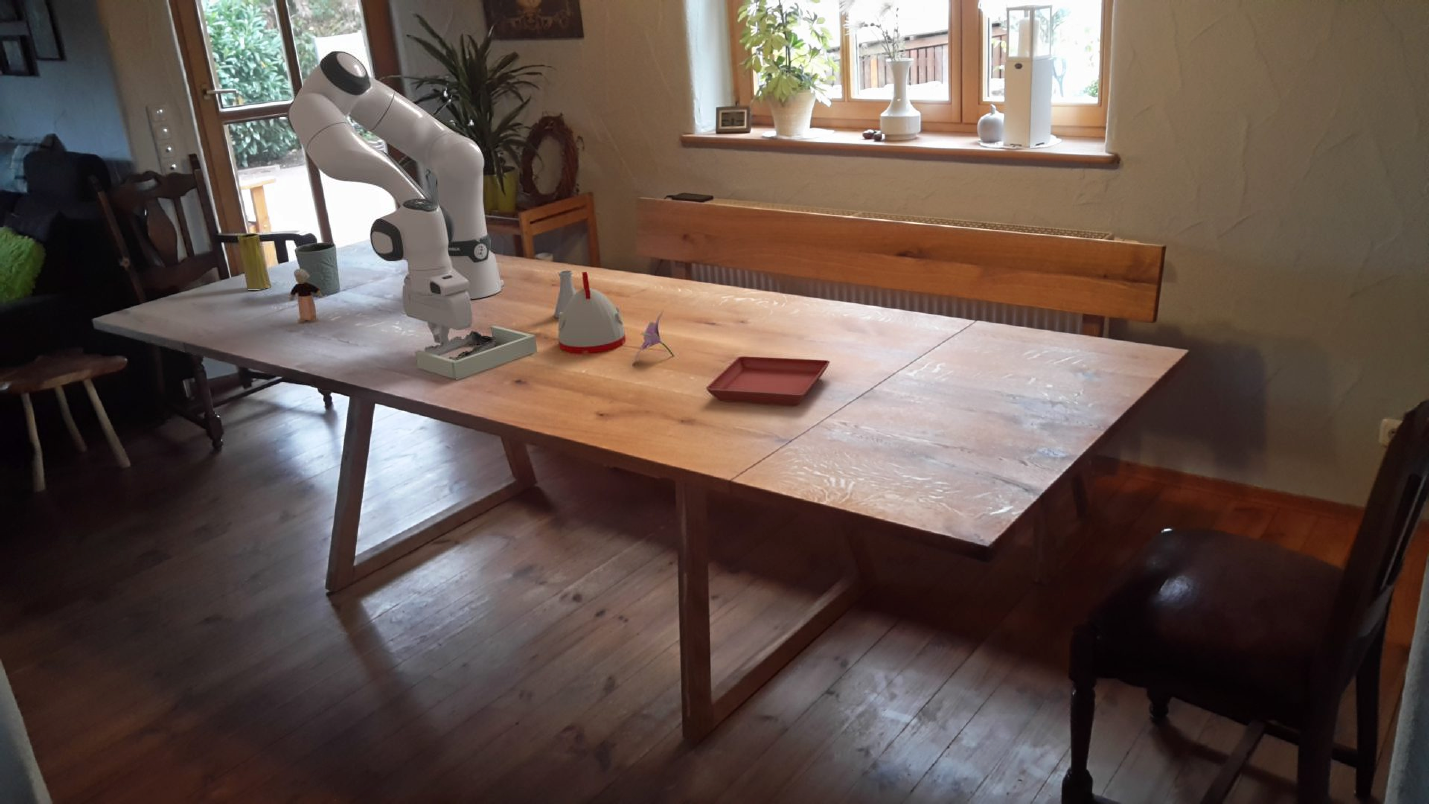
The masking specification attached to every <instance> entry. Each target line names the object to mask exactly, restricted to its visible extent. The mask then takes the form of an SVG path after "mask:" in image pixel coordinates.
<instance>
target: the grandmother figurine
mask: <svg viewBox="0 0 1429 804" xmlns="http://www.w3.org/2000/svg"><path fill="white" fill-rule="evenodd" d="M293 276H294V278H295V281H296V282H297V283H296V284H295V285H294V286H293V287H292V289H291V291H290V293H289V294H290V296H289V301H291V302H293V301H294V300H295V297H296V295H297V305H298V313H299V314H298V315H299V319H298V320H297V324H298V323H299V324H303V323H306V322H308V323H315V322H318V317H317V310H316V309H317V308H316V304H315V299H314V297H313V296H312V294H311V292H312V293H315V294H317V295H318V299H322V298H323V297H324V296H323V295H322V294H321V292H320V291H319V289H318V288H317V287H316V286H314V285H312V284H309V283H306V281H307V279H308V278H309V276H310V275H309V274H308V273H307V272H306V271H305V270H303V269H300V268H297V269H295V270H294V272H293Z"/></svg>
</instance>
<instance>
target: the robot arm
mask: <svg viewBox="0 0 1429 804" xmlns="http://www.w3.org/2000/svg"><path fill="white" fill-rule="evenodd" d="M348 118H350V119H351V120H353V121H354V122H355V123H356V124H358V126H361V127H362V128H363V129H365V130H366V131H368V132H369V133H371V134H373V135H375V136H376V137H377V138H379V139H381V140H382V141H384V142H385V143H386V144H389V145H390V146H391V147H393V148H394V149H397V150H398V151H399V152H401V153H403V154H404V155H405V156H407V157H409V158H410V159H412V160H414V161H415V162H417V163H418V164H420V165H421V166H422V167H425V168H426V169H427V170H429V171H430V172H431V173H433V174H435V175H436V179H437V181H436V182H437V202H436V201H435V200H434V199H433V198H432V197H431V196H430V195H428V194H427V192H425V190H423V188H422V187H421V186H420V185H419V184H418V183H417V182H416V181H415V179H414V178H413V177H411V176H410V175H409V174H408V172H407V171H406V170H405V169H404V168H403V167H402V166H401V165H400V164H399V163H398V162H397V161H396V160H395V159H394V157H392V156H391V155H389V154H388V153H387V152H386V151H383V150H381V149H379V148H377V147H376V146H374V145H373V144H371V143H370V141H367V140H366V139H365V138H364V137H363V136H362V135H361V134H360V132H358V131H357V130H356V129H355V128H354V126H353V125H352V123H351V122H350V121H349V120H348ZM286 119H287V122H288V125H289V128H290V129H291V130H292V132H293V133H294V134H295V136H296V137H297V139H298V141H299V143H300V144H301V146H302V147H303V149H304V151H305V152H306V154H307V155H308V156H309V158H310V160H311V161H312V162H313V164H314V165H315V166H316V167H317V169H319V171H321V172H322V173H323V174H324V175H325V176H327V177H328V178H331V179H334V180H337V181H339V182H351V183H352V182H353V183H362V184H367V185H373V186H375V187H379V188H381V189H383V190H384V191H386V192H387V193H388V194H389V195H390V196H391V197H392V198H393V199H394V201H396V202H397V204H398V205H399V207H398V209H396V210H394V211H393V212H391V213H388V214H385V215H383V216H380V217H379V218H376V219H375V220H374V221H373V223H372V225H371V228H370V233H369V238H370V239H369V240H370V243H371V247H372V250H373V251H374V253H375V254H376V255H377V256H378V257H380V258H381V259H382V260H384V261H386V262H399V261H403V260H405V261H406V262H407V272H408V273H407V274H406V276H405V278H404V279H403V283H404V284H403V286H402V304H403V310H404V311H403V312H404V313H405V315H406V317H408V318H412V319H416V320H419V321H422V322H425V323H427V326H428V328H429V330H430V332H431V334H432V335H433V336H432V337H433V342H434V343H437V344H439V345H441V343H442V342H444V341H450V340H449V333H450V330H456V331H461V330H462V331H463V330H465V329H468V328H471V326H472V324H473V322H474V320H473V319H474V316H473V308H472V303H471V300H475V299H481V298H485V297H490V296H493V295H495V294H497V293H499V292H500V291H501V290H502V289H503V288H502V286H504V285H505V282H504V280H503V279H501V277H500V274H499V273H500V272H499V269H498V263H497V260H496V256H495V253H493V252H492V251H491V248H492V244H491V242H492V241H491V238H490V234H489V233H488V231H487V224H486V216H485V208H484V167H485V159H484V155H483V153H482V151H481V149H480V147H479V146H478V144H477V143H476V142H475V141H474V140H473V139H471V138H469V137H466V136H464V135H461V134H459V133H457V132H455V131H453V129H450V128H449V127H447V126H446V125H445V124H443V123H442V122H440V121H439V120H438V119H436V118H435V117H433V116H432V115H431V114H429V113H428V112H427V111H426V110H425V109H423V108H422V107H420V106H418V105H417V104H415V103H414V102H413V101H410V100H409V99H408V98H407V97H405V96H403V95H402V94H400V93H399V92H397V91H396V90H394V89H393V88H391V87H389V85H386V84H385V83H384V82H382V81H380V80H377V79H375V78H373V77H371V76H369V73H368V70H367V68H366V67H365V66H364V64H363V63H362V61H360V59H359V58H357V57H355V56H354V55H353V54H350V53H349V52H347V51H342V50H334V51H331V52H329V53H327V54H326V55H325V56H324V57H323V58H321V59H320V61H319V64H318V65H317V66H316V67H315V68H314V69H313V70H312V71H311V72H310V73H309V75H308V76H307V77H306V79H305V80H304V81H303V84H302V86H301V88H300V89H299V91H298V92H297V94H296V96H295V98H294V100H292V101H291V102H290V105H289V107H288V110H287V112H286Z"/></svg>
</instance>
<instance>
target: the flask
mask: <svg viewBox="0 0 1429 804" xmlns="http://www.w3.org/2000/svg"><path fill="white" fill-rule="evenodd" d="M557 273H558V276H559V279H560V285H559V293H558V297H557V302H556V306H555V311H554V316H555V318H559V313H560V312H564V309H565V307H566V305H567V303H568V302H569V300H570V299H571V298H572V296H573V295H575V294H576V293H577V291H576V289H575V286H574V283H573V279H572V275H573V271H572V270H568V269H567V270H560V271H558V272H557Z"/></svg>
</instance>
